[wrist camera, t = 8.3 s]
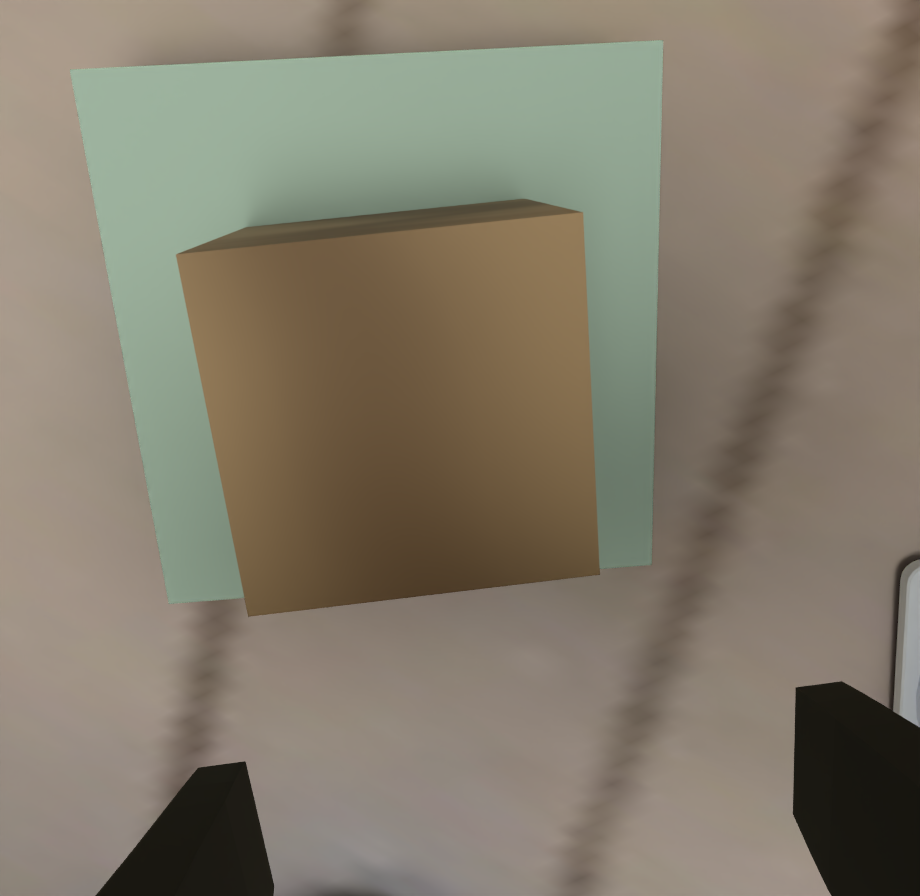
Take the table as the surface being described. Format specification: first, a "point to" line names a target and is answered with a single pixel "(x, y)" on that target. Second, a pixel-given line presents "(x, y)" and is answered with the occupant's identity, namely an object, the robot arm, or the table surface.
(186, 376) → the riser block
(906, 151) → the table surface
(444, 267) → the walnut block
